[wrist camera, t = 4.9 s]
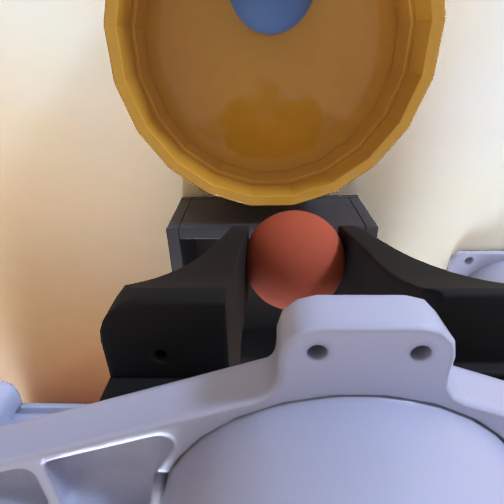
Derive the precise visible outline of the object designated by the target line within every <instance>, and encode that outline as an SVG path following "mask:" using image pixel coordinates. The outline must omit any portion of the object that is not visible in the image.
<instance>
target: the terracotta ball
mask: <svg viewBox="0 0 504 504" xmlns="http://www.w3.org/2000/svg"><path fill="white" fill-rule="evenodd" d="M344 270H345V253H344V247H343V244H342V241H341V239H340V237H339V235H338V234H337V232H336V231H335V229H334V228H333V227H332V226H331V225H330V224H329V223H328V222H326V221H325V220H324V219H322V218H321V217H319V216H317V215H315V214H312V213H309V212H306V211H299V210H291V211H284V212H280V213H277V214H275V215H272V216H270V217H269V218H267V219H266V220H264V221H263V222H262V223H261V224H260V225H259V226H258V227H257V228H256V229H255V230H254V232H253V233H252V235H251V237H250V238H249V240H248V249H247V278H248V281H249V283H250V285H251V286H252V288H253V289H254V291H255V292H256V293H257V294H258V295H259V296H260V297H261V298H262V299H263V300H264V301H266V302H267V303H269V304H270V305H272V306H274V307H277V308H280V309H283V310H284V309H285V308H286V307H288V306H289V305H290V304H292V303H293V302H294V301H295V300H297V299H300V298H305V297H309V296H314V295H332V294H333V293H334V292H335V291H336V289H337V288H338V286H339V284H340V283H341V280H342V278H343V275H344Z"/></svg>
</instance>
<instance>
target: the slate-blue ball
mask: <svg viewBox="0 0 504 504" xmlns="http://www.w3.org/2000/svg"><path fill="white" fill-rule="evenodd" d="M230 1H231V4H232V6H233V9H234V11H235V12H236V14H237V16H238V17H239V18H240V20H241V21H242V22H243V23H244V24H245V25H246V26H248V27H249V28H250V29H252V30H254V31H256V32H259V33H262V34H268V35H273V34H279V33H283V32H285V31H288V30H289V29H291V28H293V27H294V26H295V25H297V24H298V23H299V22H300V21H301V20H302V18H303V17H304V16H305V15H306V13H307V11H308V10H309V8H310V5H311V3H312V1H313V0H230Z"/></svg>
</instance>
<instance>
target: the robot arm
mask: <svg viewBox="0 0 504 504" xmlns="http://www.w3.org/2000/svg"><path fill="white" fill-rule="evenodd" d="M338 235H339V237H340V239H341V241H342V244H343V247H344V253H345V270H344V275H343V278H342V280H341V283H340V284H339V286H338V288H337V293H338V295H314V296H309V297H305V298H300V299H297V300H295V301H294V302H293V303H292V304H290V305H289V306H288V307H286V308H285V309H284V310H282V313H281V316H280V318H279V321H278V324H277V335H276V346H275V350H274V351H273V353H272V354H271V355H270V356H268V357H266V358H262V359H259V360H255V361H251V362H247V363H243V364H240V351H241V338H242V331H243V325H244V319H245V313H246V306H247V300H248V294H249V281H248V278H247V249H248V240H249V226H232V227H231V228H230V229H229V230H228V231H227V232H226V233H225V234H224V236H223V237H222V238H221V239H220V240H219V241H218V242H217V243H216V244H215V245H214V246H213V247H212V248H210V249H209V250H208V251H207V252H206V253H204V254H203V255H202V256H200V257H199V258H197V259H196V260H194V261H193V262H191V263H189V264H188V265H186V266H184V267H182V268H180V269H178V270H175V271H173V272H171V273H169V274H166V275H163V276H160V277H157V278H154V279H151V280H148V281H143V282H139V283H134V284H130V285H125V286H124V288H123V289H122V290H121V292H120V293H119V294H118V296H117V297H116V299H115V301H114V302H113V304H112V306H111V307H110V309H109V311H108V313H107V314H106V316H105V318H104V320H103V322H102V326H101V330H100V335H101V343H102V346H103V350H104V354H105V357H106V361H107V365H108V368H109V372H110V376H111V377H110V379H109V381H108V384H107V386H106V388H105V390H104V392H103V395H102V397H101V399H100V401H99V402H95V403H91V404H75V403H22V400H21V396H20V394H19V392H18V390H17V389H16V388H15V386H14V385H12V384H10V383H8V382H3V381H0V504H504V251H458V252H455V253H454V254H453V255H452V256H451V258H450V261H449V264H448V268H447V270H443V269H440V268H437V267H434V266H432V265H429V264H426V263H424V262H422V261H419V260H417V259H414V258H412V257H410V256H408V255H406V254H404V253H402V252H400V251H398V250H396V249H394V248H393V247H391V246H389V245H387V244H386V243H384V242H382V241H381V240H379V239H377V238H376V237H374V236H373V235H371V234H369V233H368V232H366V231H364V230H363V229H361V228H359V227H357V226H338ZM468 257H470V259H469V260H467V261H465V259H466V258H468Z"/></svg>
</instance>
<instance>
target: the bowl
mask: <svg viewBox="0 0 504 504" xmlns="http://www.w3.org/2000/svg"><path fill="white" fill-rule="evenodd" d="M444 22H445V1H444V0H313V1H312V3H311V5H310V8H309V10H308V11H307V13H306V15H305V16H304V17H303V18H302V20H301V21H300V22H299V23H298V24H297V25H295V26H294V27H293V28H291V29H289V30H288V31H285V32H283V33H279V34H273V35H268V34H262V33H259V32H256V31H254V30H252V29H250V28H249V27H248V26H246V25H245V24H244V23H243V22H242V21H241V20H240V18H239V17H238V16H237V14H236V12H235V11H234V9H233V6H232V4H231V1H230V0H106V2H105V13H104V29H105V35H106V40H107V46H108V51H109V57H110V62H111V68H112V73H113V79H114V82H115V85H116V87H117V89H118V92H119V94H120V96H121V98H122V100H123V102H124V104H125V106H126V108H127V110H128V112H129V115H130V117H131V119H132V121H133V123H134V125H135V127H136V129H137V131H138V132H139V134H140V135H141V136H142V137H143V138H144V139H145V141H146V142H147V143H148V144H149V145H150V146H151V147H152V149H153V150H154V151H155V152H156V153H157V154H158V156H159V157H160V158H161V159H162V160H163V161H164V162H165V164H166V165H167V166H168V167H169V168H171V170H173V171H174V172H176V173H177V174H179V175H181V176H182V177H184V178H185V179H187V180H188V181H190V182H191V183H193V184H194V185H196V186H198V187H199V188H201V189H202V190H204V191H205V192H207V193H209V194H212V195H215V196H219V197H222V198H226V199H229V200H233V201H236V202H240V203H243V204H246V205H251V206H253V205H295V204H298V203H301V202H304V201H308V200H311V199H314V198H317V197H320V196H324V195H327V194H330V193H333V192H335V191H337V190H339V189H340V188H342V187H343V186H345V185H346V184H348V183H350V182H351V181H353V180H354V179H356V178H357V177H359V176H360V175H362V174H363V173H365V172H366V171H368V170H369V169H371V168H372V167H374V165H376V164H377V163H378V162H379V160H380V159H381V158H382V157H383V156H384V155H385V154H386V152H387V151H388V150H389V149H390V148H391V147H392V146H393V144H394V143H395V142H396V141H397V140H398V139H399V138H400V136H401V135H402V134H403V133H404V132H405V131H406V130H407V128H408V127H409V125H410V123H411V121H412V119H413V117H414V115H415V113H416V111H417V109H418V107H419V105H420V103H421V101H422V99H423V97H424V95H425V93H426V91H427V89H428V87H429V85H430V83H431V81H432V79H433V76H434V72H435V67H436V62H437V57H438V52H439V47H440V42H441V37H442V32H443V27H444Z"/></svg>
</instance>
